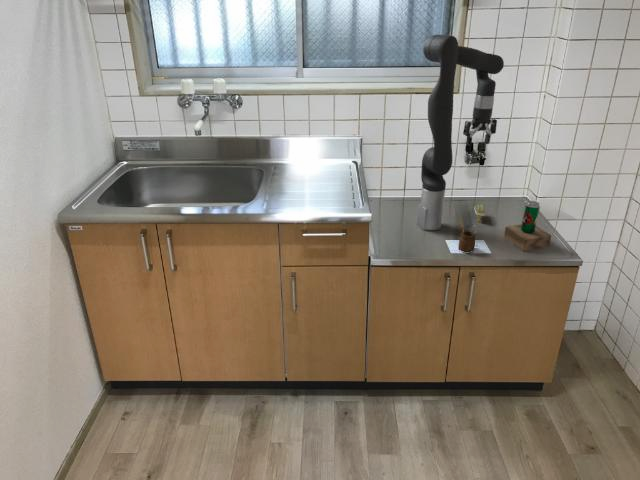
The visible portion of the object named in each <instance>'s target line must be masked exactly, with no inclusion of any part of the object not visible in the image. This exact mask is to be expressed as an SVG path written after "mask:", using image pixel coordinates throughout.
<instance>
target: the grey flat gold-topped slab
mask: <svg viewBox="0 0 640 480" xmlns="http://www.w3.org/2000/svg"><path fill="white" fill-rule="evenodd" d="M473 208H474V209H473V210H474V213H475V214H476V219H478V220H476V222H478V223H479V222H480V224H482V222H483V217H485V216H486V214H487V213H486V211H485V207H484V205H483V204H482V203H480V204H478V203H477V205H475V206H474V207H473Z"/></svg>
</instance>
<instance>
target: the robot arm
mask: <svg viewBox="0 0 640 480" xmlns="http://www.w3.org/2000/svg"><path fill="white" fill-rule="evenodd" d="M422 48H423V49H422V51H423V55H424V57H425V58H426V60H428V61H430V62H432V63H440V64H439V65H440V68H439V76H438V79H437V82H436V84H435V86H434V87H433V89H432V90H431V92H430V94H429V97H428V100H427V121H428V124H429V128H430V131H431V136H432V139H433V146H432V147H430V148H428V149H427V150H426V151H424V154H423V156H422V160H421V173H420V174H421V177H420V179H421V183H422V188H421V196H420V203H418V207H417V214H416V215H417V216H416V217H417V218H416V225H417V226H418V227H419V228H420V229H422V230H423V231H437V230H439V229H441V226H442V219H443V211H444V202H445V194H446V188H447V187H446V186H447V182H446V180H445V178H444V176H445V175H447V174H448V173H449V172H450V171H451V168H452V165H453V147H452V146H453V144H452V143H453V142H452V139H453V138H452V137H453V133H452V132H453V115H454V114H453V113H454V93H455V92H454V90H455V80H456V79H455V77H456V72H457V65H459V66H461V67H465V68H467V69H471V70H475V73H476V75H475V76H476V81H477V85H476V87H477V88H476V93H475V97H474V104H473V110H472V120H470V121H469V120H465V122H464V127H463V131H462V134H463V135H464V136H466V143H465V144H466V145H467V146H468V147H471V146H472V142H473V136H475V134H476V133H477V132H483V131H484V132H485V136H484V141H483V143H484V144H485V145H489V144H490V142H491V137H492V135H494V134H495V135H496V133H497V126H498V125H497V124H498V121H497V119H495V118H492V115H493V109H494V104H495V103H494V101H495V91H496V85H497V83H496V81H495V80H494V79H492V78H490V76H489V74H490V75H497V74H499V73H501V72H502V70H503V69H504V66H505V63H504V62H505V61H504V59H503V57H502V56H500V55H497V54H494V53H489V52H485V51H482V50H479V49H476V48H472V47H468V46H461V45H459V41H458V39H457V37H455V36H453V35H450V34H449V35H448V34H432V35H429V36H428V38H427V39H425V41H424V44H423V47H422Z"/></svg>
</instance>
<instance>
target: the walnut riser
mask: <svg viewBox="0 0 640 480" xmlns="http://www.w3.org/2000/svg"><path fill="white" fill-rule="evenodd" d="M521 226H522V223H521V224H514V225H508V226H505V227H504V228H505V229H504V234H503V239H504V238H505V239H504V240H505V241H508V242H509V243H510V244H511V243H512V245H513V246H514V247H516V248H517V249H518V250H520V252H521V251H522V252H527V251H533V250H534V251H535V250H540V249H545V248H549V247H550V243H551V238H552V235H551V234H550V233H548V232H546V231H545V230H544V229H542V228H541V227H539V226H537V225H536V227H535V231H534V232H533V233H525V232H523V231H522V230H521Z"/></svg>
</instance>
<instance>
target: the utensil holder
mask: <svg viewBox="0 0 640 480" xmlns="http://www.w3.org/2000/svg"><path fill="white" fill-rule="evenodd" d="M460 226H461V230H462V231H461V234H460V237H459V240H458V250H459V251H460V250H461V251H464V252H471V251H473V250H474V251H475V246H476V232H475V231H477V230H478V227H477V225H474V224H473V225H472V226H471V229H470V230H465V229H464V227H465V225H464V219H463V218H462V219H461V220H460ZM474 227H475V231H474V230H473V229H474ZM461 251H460V252H461ZM474 251H473V252H474ZM464 252H463V253H464ZM471 253H472V252H471Z"/></svg>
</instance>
